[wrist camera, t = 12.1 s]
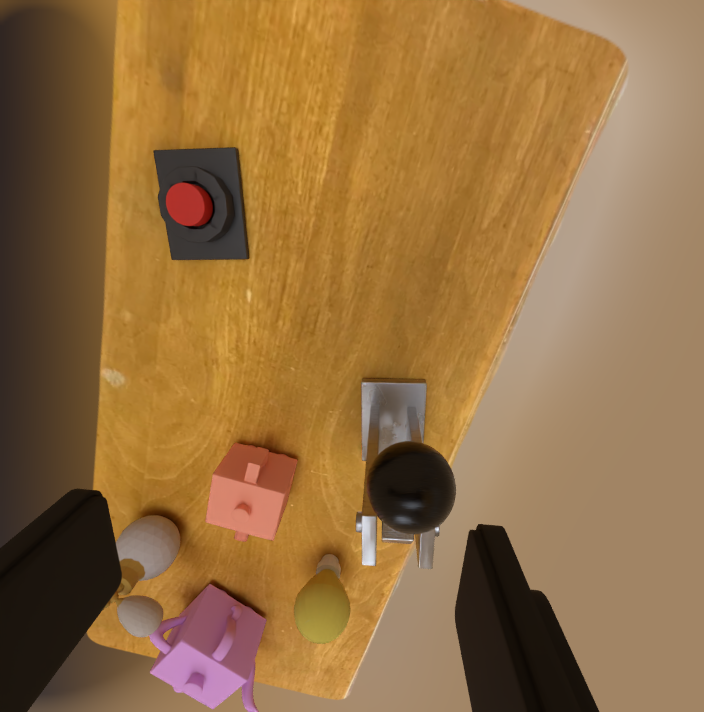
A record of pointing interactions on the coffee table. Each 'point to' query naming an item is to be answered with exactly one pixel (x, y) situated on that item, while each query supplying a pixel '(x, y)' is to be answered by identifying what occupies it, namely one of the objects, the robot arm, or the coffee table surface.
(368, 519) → the lever stand
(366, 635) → the coffee table surface
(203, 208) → the button
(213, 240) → the button block
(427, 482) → the lever
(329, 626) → the light bulb
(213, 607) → the teapot
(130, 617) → the perfume bottle
